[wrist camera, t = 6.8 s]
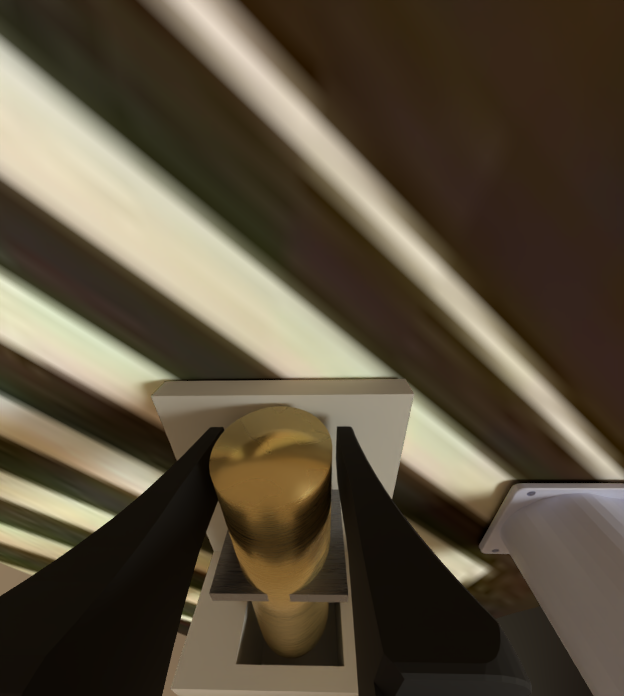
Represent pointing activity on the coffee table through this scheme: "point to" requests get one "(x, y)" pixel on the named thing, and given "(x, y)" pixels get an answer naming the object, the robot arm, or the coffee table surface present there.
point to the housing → (227, 616)
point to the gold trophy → (280, 525)
